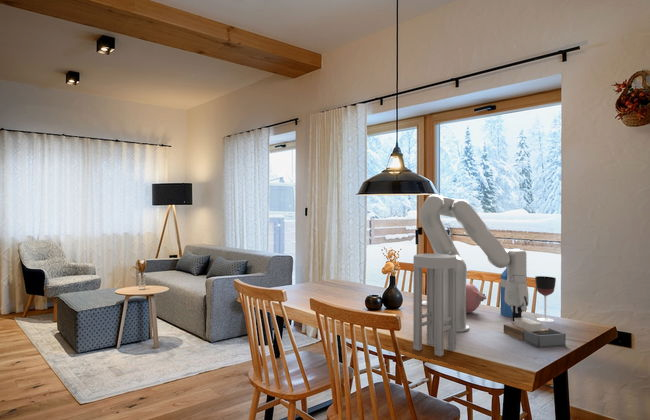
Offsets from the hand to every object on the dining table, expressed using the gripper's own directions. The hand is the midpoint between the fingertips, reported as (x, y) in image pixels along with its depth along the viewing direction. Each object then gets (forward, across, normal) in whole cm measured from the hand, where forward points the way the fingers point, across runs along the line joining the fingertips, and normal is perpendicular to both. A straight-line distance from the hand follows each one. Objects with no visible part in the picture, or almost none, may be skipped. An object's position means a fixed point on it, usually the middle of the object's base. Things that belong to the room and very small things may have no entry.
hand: (516, 321), depth 185 cm
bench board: (+4, +6, 0) cm, 7 cm away
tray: (+4, +16, 0) cm, 17 cm away
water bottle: (+5, -27, +17) cm, 32 cm away
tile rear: (+1, +4, 0) cm, 5 cm away
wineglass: (+5, -15, +27) cm, 31 cm away
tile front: (+1, +9, 0) cm, 9 cm away
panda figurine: (+4, -59, -9) cm, 60 cm away
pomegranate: (+5, -34, -2) cm, 34 cm away
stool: (+4, +12, -45) cm, 47 cm away
